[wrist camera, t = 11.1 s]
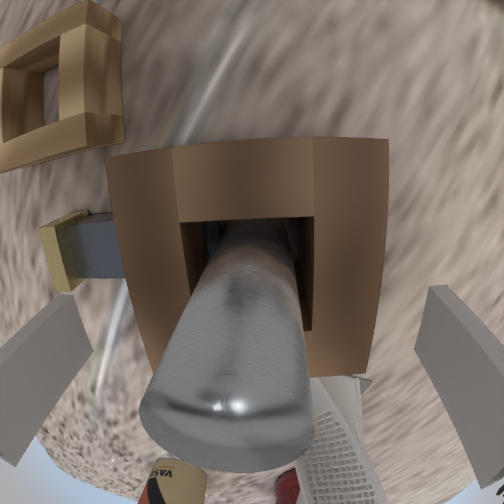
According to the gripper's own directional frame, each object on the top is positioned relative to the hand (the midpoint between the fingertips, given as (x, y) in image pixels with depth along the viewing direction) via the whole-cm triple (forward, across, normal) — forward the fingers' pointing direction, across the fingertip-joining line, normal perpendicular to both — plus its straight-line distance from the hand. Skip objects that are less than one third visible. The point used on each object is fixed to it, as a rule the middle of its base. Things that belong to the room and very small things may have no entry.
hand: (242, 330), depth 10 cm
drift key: (+12, -9, 0) cm, 14 cm away
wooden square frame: (+12, -14, +12) cm, 22 cm away
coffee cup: (+12, -13, -35) cm, 39 cm away
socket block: (+12, 0, 0) cm, 12 cm away
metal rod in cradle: (+12, 0, 0) cm, 12 cm away
